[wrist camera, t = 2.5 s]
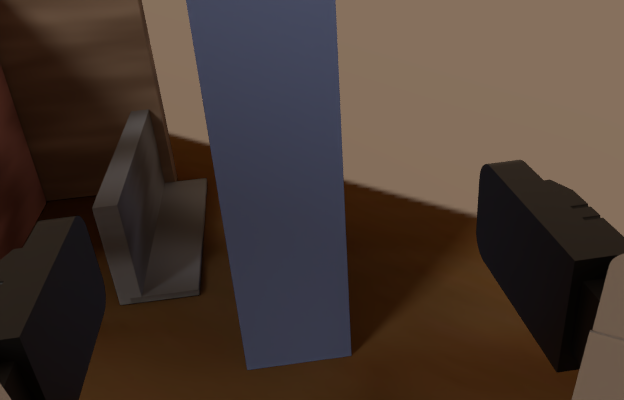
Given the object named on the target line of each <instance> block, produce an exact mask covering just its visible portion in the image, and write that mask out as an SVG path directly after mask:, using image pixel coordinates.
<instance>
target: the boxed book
mask: <svg viewBox="0 0 624 400" xmlns="http://www.w3.org/2000/svg"><path fill="white" fill-rule="evenodd" d="M186 3H187V9H188V15H189V20H190V27H191V33H192V39H193V45H194V51H195V56H196V63H197V69H198V75H199V81H200V87H201V93H202V99H203V106H204V112H205V117H206V123H207V129H208V136H209V142H210V148H211V154H212V160H213V166H214V172H215V178H216V184H217V190H218V196H219V202H220V208H221V214H222V220H223V226H224V232H225V239H226V245H227V251H228V257H229V263H230V269H231V275H232V281H233V287H234V293H235V299H236V305H237V311H238V317H239V323H240V329H241V335H242V341H243V347H244V353H245V359H246V366H247V370H252V369H259V368H266V367H273V366H281V365H288V364H295V363H302V362H310V361H317V360H324V359H331V358H338V357H346V356H351V335H350V313H349V291H348V269H347V247H346V225H345V203H344V181H343V159H342V137H341V114H340V93H339V72H338V49H337V27H336V5H335V0H186Z"/></svg>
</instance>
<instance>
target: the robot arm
mask: <svg viewBox="0 0 624 400" xmlns="http://www.w3.org/2000/svg"><path fill="white" fill-rule="evenodd" d="M476 235H477V243H478V248H479V252H480V254H481V257H482V259H483V261H484V262H485V264H486V265H487V267H488V268H489V270H490V271H491V273H492V275H493V276H494V278H495V279H496V281H497V282H498V284H499V285H500V287H501V288H502V290H503V291H504V293H505V294H506V296H507V297H508V299H509V300H510V302H511V303H512V305H513V306H514V308H515V310H516V311H517V313H518V314H519V316H520V317H521V319H522V320H523V322H524V323H525V325H526V326H527V328H528V329H529V331H530V332H531V334H532V335H533V337H534V338H535V340H536V341H537V343H538V344H539V346H540V348H541V349H542V351H543V352H544V354H545V355H546V357H547V358H548V360H549V361H550V363H551V364H552V366H553V367H554V369H555V370H556V372H564V371H570V370H577V369H580V370H579V374H578V377H577V381H576V385H575V389H574V393H573V396H572V400H624V237H623V236H622V235H621V234H620V233H619V232H618V231H617V230H616V229H615V228H614V227H612V226H611V225H610V224H609V223H608V222H607V221H606V220H605V219H604V218H600V215H599V214H598V213H597V212H596V211H595V210H594V209H593V208H592V207H588V204H587V203H586V202H585V201H584V200H583V199H582V198H581V197H580V196H579V195H577V194H576V193H575V192H574V191H573V190H571V189H569V188H567V187H565V186H562V185H560V184H558V183H556V182H554V181H552V180H545V181H544V180H543V179H542V178H540V176H539V175H537V174H536V173H535V172H534V171H533V170H532V169H531V168H530V167H529V166H528V165H527V164H526V163H525V162H524V161H522V160H515V161H508V162H501V163H492V164H485V165H484V166H483V167H482V169H481V172H480V179H479V196H478V211H477V228H476ZM105 304H106V295H105V286H104V282H103V278H102V275H101V272H100V268H99V265H98V262H97V259H96V256H95V252H94V249H93V246H92V243H91V240H90V236H89V233H88V230H87V227H86V224H85V222H84V220H83V219H82V218H81V217H80V216H72V217H64V218H56V219H48V220H41V221H38V222H37V224H36V225H35V227H34V229H33V231H32V232H31V234H30V236H29V238H28V239H27V241H26V243H25V245H24V246H23V248H18V249H13V250H12V251H11V252H9V253H8V254H7V255H6V256H4V257H3V258H2V259H1V260H0V400H79V397H80V393H81V390H82V386H83V383H84V380H85V376H86V373H87V369H88V366H89V363H90V359H91V356H92V352H93V349H94V346H95V342H96V339H97V335H98V332H99V329H100V325H101V322H102V318H103V315H104V311H105Z"/></svg>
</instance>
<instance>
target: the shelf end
mask: <svg viewBox="0 0 624 400" xmlns="http://www.w3.org/2000/svg"><path fill="white" fill-rule="evenodd" d="M206 194H207V178H202V179H194V180H185V181H177V173H176V168H175V163H174V158H173V153H172V148H171V143H170V138H169V134H168V129H167V125H166V119H165V114H164V109H163V104H162V99H161V94H160V89H159V85H158V80H157V74H156V69H155V64H154V60H153V55H152V50H151V45H150V40H149V35H148V30H147V25H146V20H145V15H144V11H143V5H142V0H0V260H1V259H2V258H3V257H4V256H6V255H7V254H8V253H9V252H11V251H12V250H13V249H18V248H22V247H23V245H24V243H25V241H26V239H27V238H28V236H29V234H30V232H31V230H32V228H33V227H34V225H35V223H36V221H37V219H38V218H39V216H40V214H41V212H42V210H43V208H44V207H45V205H46V203H47V202H46V201H51V200H60V199H68V198H77V197H85V196H94V195H97V197H96V199H95V202H94V204H93V207H92V210H93V214H94V217H95V221H96V224H97V227H98V231H99V234H100V238H101V241H102V245H103V248H104V251H105V255H106V258H107V262H108V265H109V269H110V272H111V275H112V279H113V282H114V286H115V289H116V293H117V296H118V300H119V303H120V305H125V304H133V303H141V302H148V301H156V300H164V299H172V298H179V297H187V296H195V295H199V293H200V279H201V265H202V251H203V236H204V222H205V208H206Z"/></svg>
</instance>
